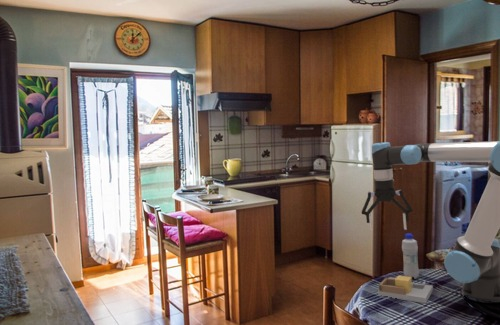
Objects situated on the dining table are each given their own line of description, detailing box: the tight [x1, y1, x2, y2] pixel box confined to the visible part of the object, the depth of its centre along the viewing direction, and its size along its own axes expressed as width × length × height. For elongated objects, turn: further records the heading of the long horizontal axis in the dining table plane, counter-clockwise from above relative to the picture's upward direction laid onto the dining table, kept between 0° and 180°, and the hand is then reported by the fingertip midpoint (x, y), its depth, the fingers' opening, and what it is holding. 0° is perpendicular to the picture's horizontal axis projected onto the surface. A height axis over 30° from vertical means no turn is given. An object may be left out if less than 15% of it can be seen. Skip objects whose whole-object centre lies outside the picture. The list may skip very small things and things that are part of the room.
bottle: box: [401, 232, 420, 280], centre depth 177 cm, size 7×7×20 cm
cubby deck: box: [377, 277, 434, 304], centre depth 161 cm, size 18×14×4 cm
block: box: [395, 275, 413, 294], centre depth 159 cm, size 5×5×5 cm
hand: (388, 229), depth 166 cm, fingers open, 13 cm apart
